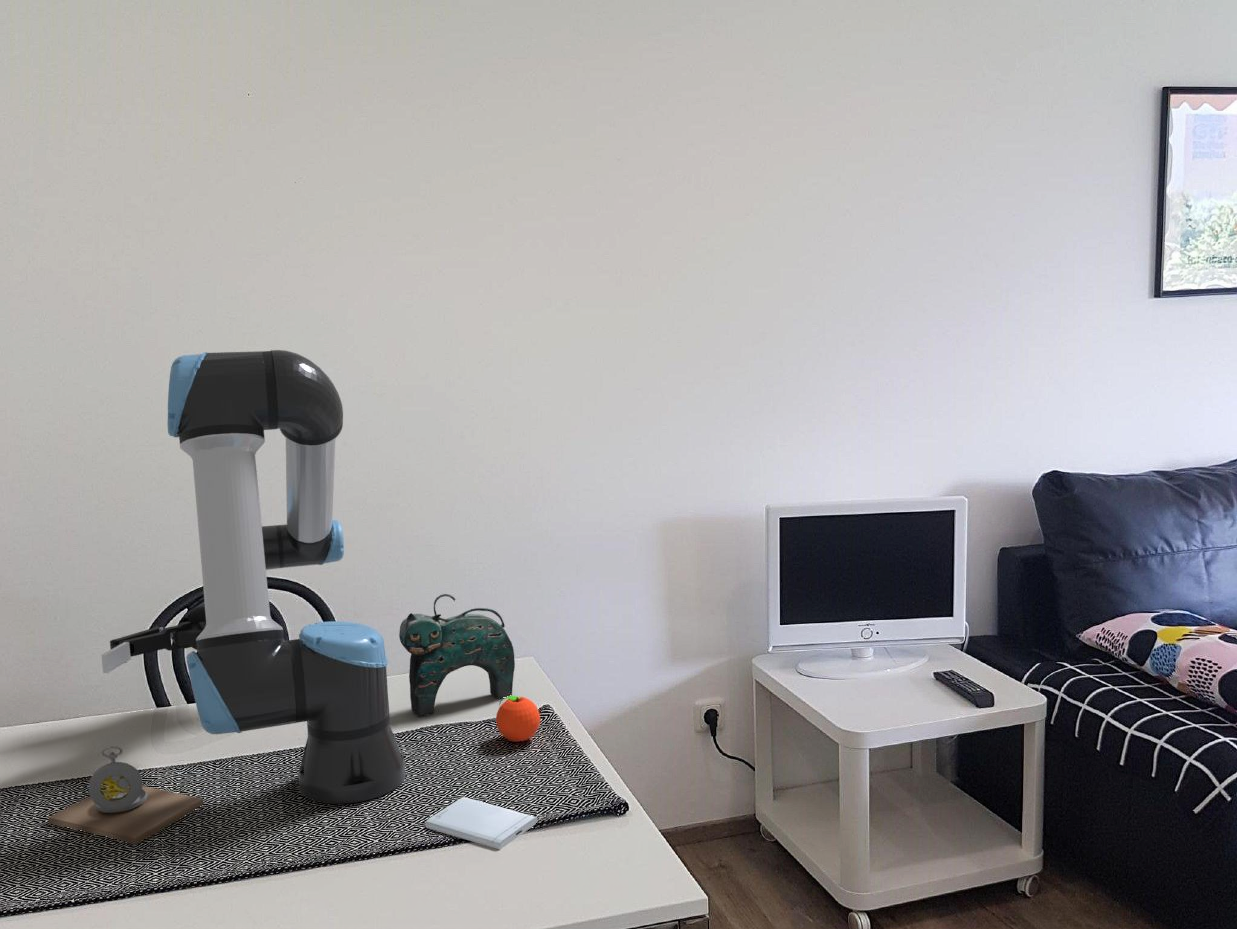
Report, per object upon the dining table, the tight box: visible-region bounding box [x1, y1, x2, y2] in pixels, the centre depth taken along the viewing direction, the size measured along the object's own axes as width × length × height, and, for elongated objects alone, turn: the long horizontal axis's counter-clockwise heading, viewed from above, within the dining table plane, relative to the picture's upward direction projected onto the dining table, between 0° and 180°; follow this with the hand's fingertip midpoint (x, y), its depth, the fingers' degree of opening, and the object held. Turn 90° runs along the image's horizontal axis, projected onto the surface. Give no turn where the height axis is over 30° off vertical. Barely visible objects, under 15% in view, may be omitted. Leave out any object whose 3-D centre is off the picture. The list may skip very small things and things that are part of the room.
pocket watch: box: [88, 746, 148, 813], centre depth 153 cm, size 8×8×10 cm
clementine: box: [495, 695, 541, 743], centre depth 176 cm, size 8×7×7 cm
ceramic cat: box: [398, 593, 516, 718], centre depth 191 cm, size 20×6×20 cm, turn 119°
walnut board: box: [47, 785, 204, 846], centre depth 154 cm, size 16×12×1 cm
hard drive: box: [425, 796, 538, 850], centre depth 148 cm, size 2×8×12 cm
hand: (149, 663), depth 162 cm, fingers open, 13 cm apart
